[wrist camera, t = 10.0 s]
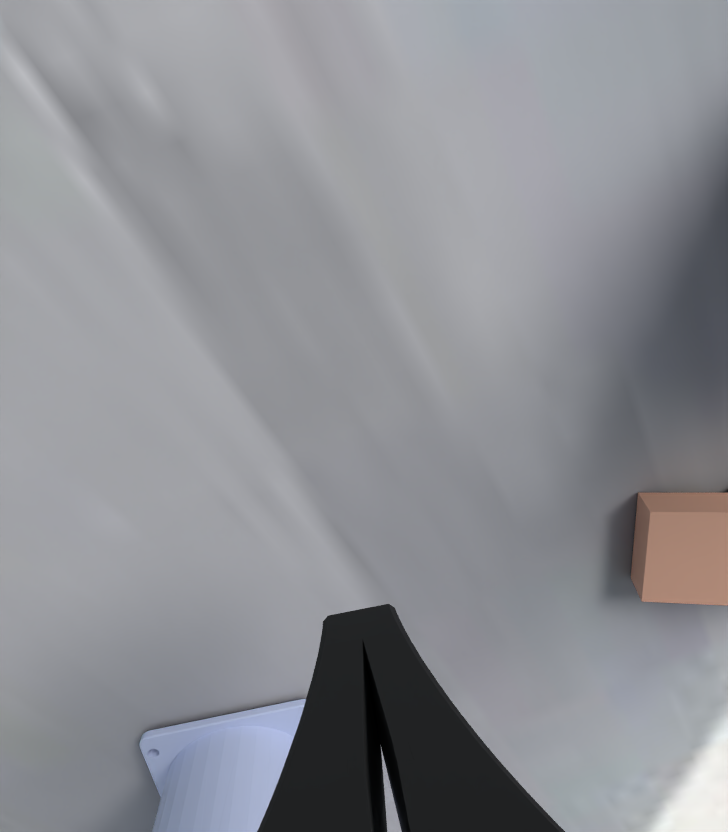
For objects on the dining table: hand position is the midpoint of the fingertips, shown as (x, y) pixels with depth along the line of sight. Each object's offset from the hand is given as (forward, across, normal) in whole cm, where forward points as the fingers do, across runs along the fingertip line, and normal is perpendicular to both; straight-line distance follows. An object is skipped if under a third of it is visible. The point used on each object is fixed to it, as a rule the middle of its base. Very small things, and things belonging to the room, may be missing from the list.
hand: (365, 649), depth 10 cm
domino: (+9, -13, +7) cm, 17 cm away
